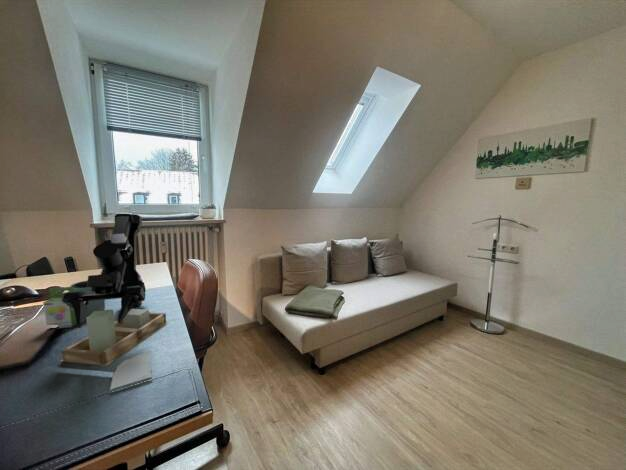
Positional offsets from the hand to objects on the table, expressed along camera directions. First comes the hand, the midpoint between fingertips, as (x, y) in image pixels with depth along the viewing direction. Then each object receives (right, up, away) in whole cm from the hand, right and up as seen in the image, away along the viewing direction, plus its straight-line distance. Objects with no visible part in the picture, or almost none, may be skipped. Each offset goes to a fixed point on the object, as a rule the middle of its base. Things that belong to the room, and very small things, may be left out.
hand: (99, 325), depth 70 cm
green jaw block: (-1, -8, +2) cm, 8 cm away
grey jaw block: (+1, -6, +14) cm, 16 cm away
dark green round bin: (-26, -5, +27) cm, 38 cm away
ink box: (-27, -7, +17) cm, 33 cm away
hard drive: (+13, -11, -5) cm, 18 cm away
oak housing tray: (0, -8, +8) cm, 12 cm away
